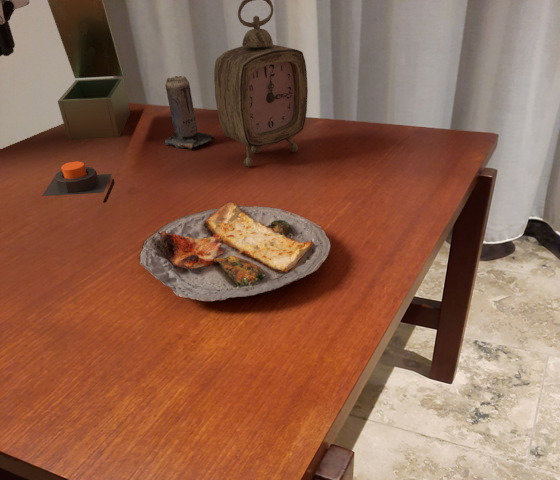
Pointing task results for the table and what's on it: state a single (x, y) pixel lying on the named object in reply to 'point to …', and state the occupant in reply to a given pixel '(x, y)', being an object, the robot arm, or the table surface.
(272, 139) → the tabletop clock
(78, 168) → the button
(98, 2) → the lid
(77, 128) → the machine
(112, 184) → the panel
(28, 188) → the table surface
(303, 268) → the food plate
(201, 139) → the beverage can
